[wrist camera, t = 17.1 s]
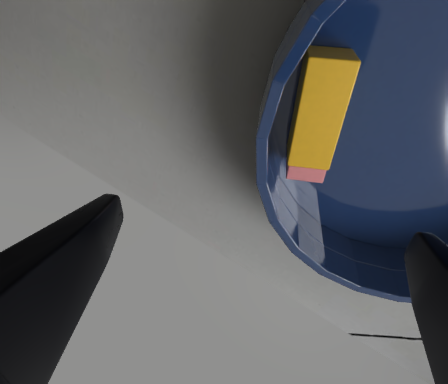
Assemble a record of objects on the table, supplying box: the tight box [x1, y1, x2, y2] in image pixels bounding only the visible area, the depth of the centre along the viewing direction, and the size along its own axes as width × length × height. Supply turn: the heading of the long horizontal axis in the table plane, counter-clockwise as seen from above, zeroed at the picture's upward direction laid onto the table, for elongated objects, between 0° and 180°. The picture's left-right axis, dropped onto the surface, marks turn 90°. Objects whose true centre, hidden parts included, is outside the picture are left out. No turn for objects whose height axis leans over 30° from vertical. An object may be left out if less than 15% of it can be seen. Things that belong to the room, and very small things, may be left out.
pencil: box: [286, 45, 361, 183], centre depth 17 cm, size 7×2×2 cm, turn 177°
